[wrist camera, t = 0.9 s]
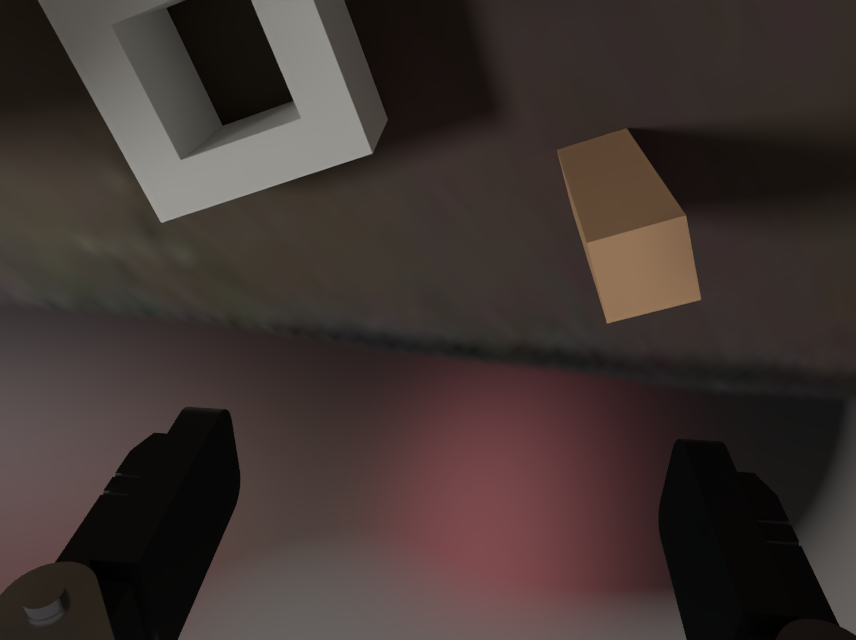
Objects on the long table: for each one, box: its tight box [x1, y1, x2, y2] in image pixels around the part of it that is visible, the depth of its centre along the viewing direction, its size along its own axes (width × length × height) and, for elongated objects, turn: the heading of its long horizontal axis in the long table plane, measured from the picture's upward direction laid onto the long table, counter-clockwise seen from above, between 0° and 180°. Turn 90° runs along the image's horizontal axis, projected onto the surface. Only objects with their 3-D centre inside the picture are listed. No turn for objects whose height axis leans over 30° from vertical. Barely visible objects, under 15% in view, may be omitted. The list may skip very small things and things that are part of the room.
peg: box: [557, 128, 701, 323], centre depth 27 cm, size 3×3×10 cm
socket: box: [38, 0, 388, 223], centre depth 27 cm, size 9×9×5 cm
